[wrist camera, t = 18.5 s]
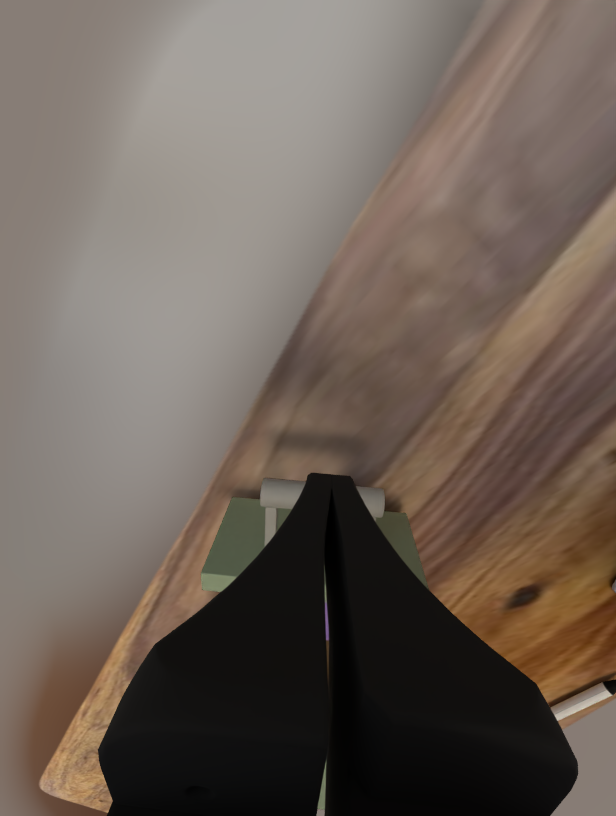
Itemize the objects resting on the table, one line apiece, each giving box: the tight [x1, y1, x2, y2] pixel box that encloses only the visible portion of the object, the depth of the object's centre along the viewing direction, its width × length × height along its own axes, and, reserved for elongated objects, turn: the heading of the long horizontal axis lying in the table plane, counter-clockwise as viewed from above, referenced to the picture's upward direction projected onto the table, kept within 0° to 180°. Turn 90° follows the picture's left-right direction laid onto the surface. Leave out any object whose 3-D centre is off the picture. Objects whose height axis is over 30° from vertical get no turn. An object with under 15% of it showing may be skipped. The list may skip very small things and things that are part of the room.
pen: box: [550, 680, 616, 721], centre depth 31 cm, size 1×19×1 cm, turn 144°
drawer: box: [201, 478, 429, 673], centre depth 21 cm, size 17×11×6 cm
